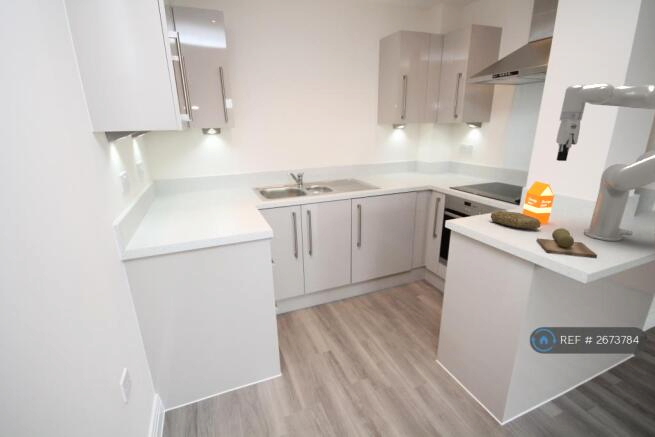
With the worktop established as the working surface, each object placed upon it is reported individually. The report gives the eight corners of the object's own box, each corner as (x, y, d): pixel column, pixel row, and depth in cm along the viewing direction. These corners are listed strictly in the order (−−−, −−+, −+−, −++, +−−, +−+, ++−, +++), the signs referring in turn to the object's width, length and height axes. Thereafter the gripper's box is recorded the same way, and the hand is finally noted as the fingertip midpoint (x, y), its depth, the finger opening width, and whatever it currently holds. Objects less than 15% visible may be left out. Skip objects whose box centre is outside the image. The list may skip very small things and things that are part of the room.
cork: (555, 226, 129) (560, 232, 119) (572, 230, 126) (579, 237, 117) (549, 239, 130) (554, 246, 121) (566, 244, 128) (572, 251, 118)
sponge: (487, 224, 156) (525, 228, 137) (489, 209, 155) (527, 211, 137) (505, 226, 161) (544, 230, 142) (507, 211, 160) (546, 213, 142)
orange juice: (534, 218, 160) (542, 180, 154) (548, 224, 152) (557, 184, 146) (520, 219, 159) (528, 181, 153) (533, 224, 151) (542, 184, 145)
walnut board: (581, 245, 126) (581, 242, 126) (596, 258, 114) (597, 255, 114) (536, 240, 131) (536, 238, 130) (546, 252, 119) (547, 249, 119)
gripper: (589, 116, 122) (578, 163, 128) (574, 117, 136) (564, 159, 141) (567, 116, 124) (557, 162, 130) (554, 117, 138) (545, 158, 143)
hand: (561, 160), depth 136 cm, fingers closed
